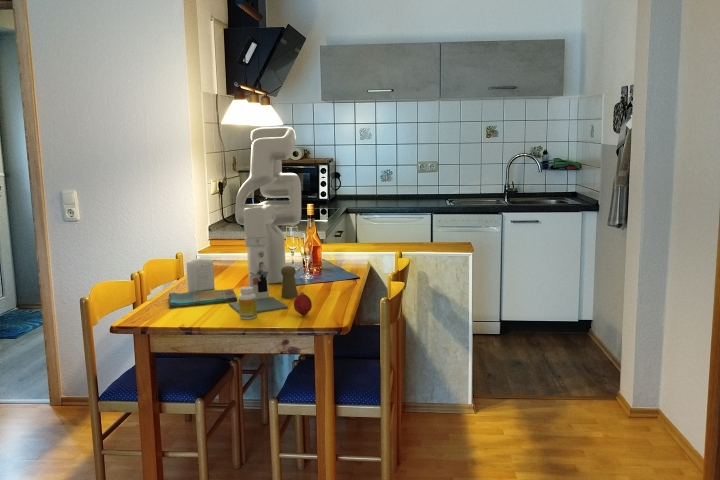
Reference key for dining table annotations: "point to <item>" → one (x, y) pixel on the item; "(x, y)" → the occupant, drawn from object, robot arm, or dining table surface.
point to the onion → (302, 304)
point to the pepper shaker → (288, 283)
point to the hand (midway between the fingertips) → (258, 289)
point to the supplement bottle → (247, 303)
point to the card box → (254, 283)
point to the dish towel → (201, 298)
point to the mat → (263, 305)
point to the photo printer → (200, 274)
